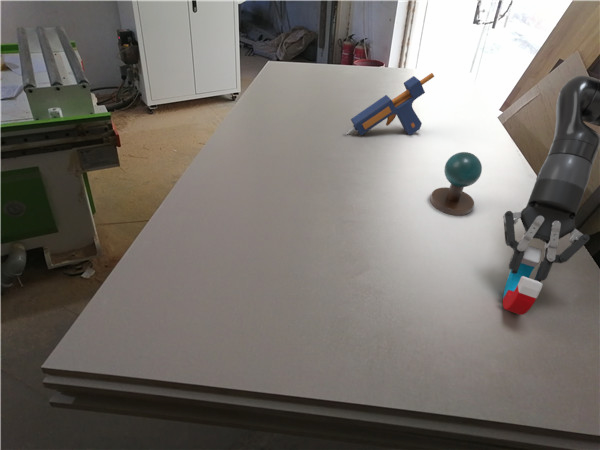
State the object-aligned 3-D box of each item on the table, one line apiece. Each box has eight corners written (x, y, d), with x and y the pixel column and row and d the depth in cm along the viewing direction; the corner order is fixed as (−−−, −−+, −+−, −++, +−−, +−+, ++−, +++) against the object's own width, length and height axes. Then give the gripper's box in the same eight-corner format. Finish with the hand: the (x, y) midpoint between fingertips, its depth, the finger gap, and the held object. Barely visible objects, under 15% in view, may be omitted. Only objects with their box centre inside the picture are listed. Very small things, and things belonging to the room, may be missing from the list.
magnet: (504, 279, 78) (525, 240, 72) (519, 284, 78) (542, 245, 72) (500, 322, 70) (524, 282, 64) (517, 329, 69) (543, 289, 63)
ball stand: (475, 200, 101) (494, 151, 92) (467, 220, 94) (487, 169, 85) (436, 188, 104) (451, 140, 96) (425, 206, 97) (440, 156, 89)
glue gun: (361, 159, 135) (339, 126, 126) (438, 102, 131) (422, 64, 122) (368, 167, 131) (347, 134, 121) (449, 108, 126) (433, 69, 117)
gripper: (520, 167, 70) (485, 259, 69) (615, 192, 65) (578, 292, 63) (513, 180, 77) (481, 264, 76) (597, 203, 72) (564, 294, 70)
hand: (525, 276), depth 70 cm, fingers open, 3 cm apart
